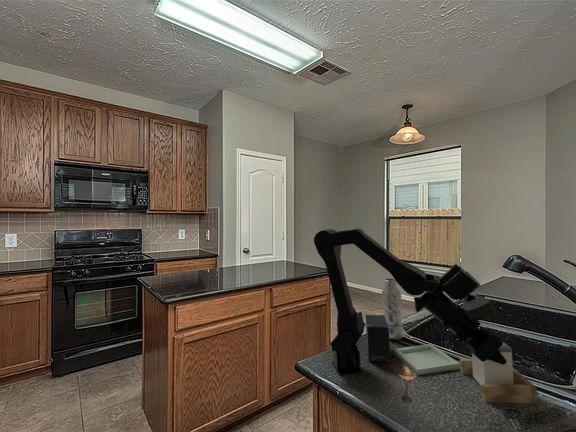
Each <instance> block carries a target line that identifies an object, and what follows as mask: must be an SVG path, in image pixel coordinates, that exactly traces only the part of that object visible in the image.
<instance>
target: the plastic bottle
mask: <svg viewBox="0 0 576 432" xmlns="http://www.w3.org/2000/svg"><path fill="white" fill-rule="evenodd" d="M383 284H384V288H383V289H382V291H381V296H380V297H381V302H382V306H383V315H385V318H386V321H387V324H388V327H389V340H394V341H396V340H401V339H402V338H403V337H404V335H405V329H404V325H403V321H402V316H401V315H402V314H401V310H402V309H401V308H402V307H401V304H402V294H401V292H400V290H399V288H397V284H398V283H397V282H396V280H395V279H394V278H393V277H391V278H384V283H383Z"/></svg>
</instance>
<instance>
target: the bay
mask: <svg viewBox="0 0 576 432" xmlns="http://www.w3.org/2000/svg"><path fill="white" fill-rule="evenodd" d="M459 363H460V369H459V370H460V373H461V375H473V365H472V358H460V359H459ZM481 388H482V389H481V391H482V400H483V401H484V403H498V404H502V403H503V404H507V403H508V404H532V405H533V404H536V405H538V404H539V403H538V387H537V386H535V385H534V383H532V382H531V381H530V380H528V379H527V378H526V377H525V376H524V375H522V374H521V373H520V372H519V371H518V370H517V369H515V367H513V385H510V384H482V386H481Z"/></svg>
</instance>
